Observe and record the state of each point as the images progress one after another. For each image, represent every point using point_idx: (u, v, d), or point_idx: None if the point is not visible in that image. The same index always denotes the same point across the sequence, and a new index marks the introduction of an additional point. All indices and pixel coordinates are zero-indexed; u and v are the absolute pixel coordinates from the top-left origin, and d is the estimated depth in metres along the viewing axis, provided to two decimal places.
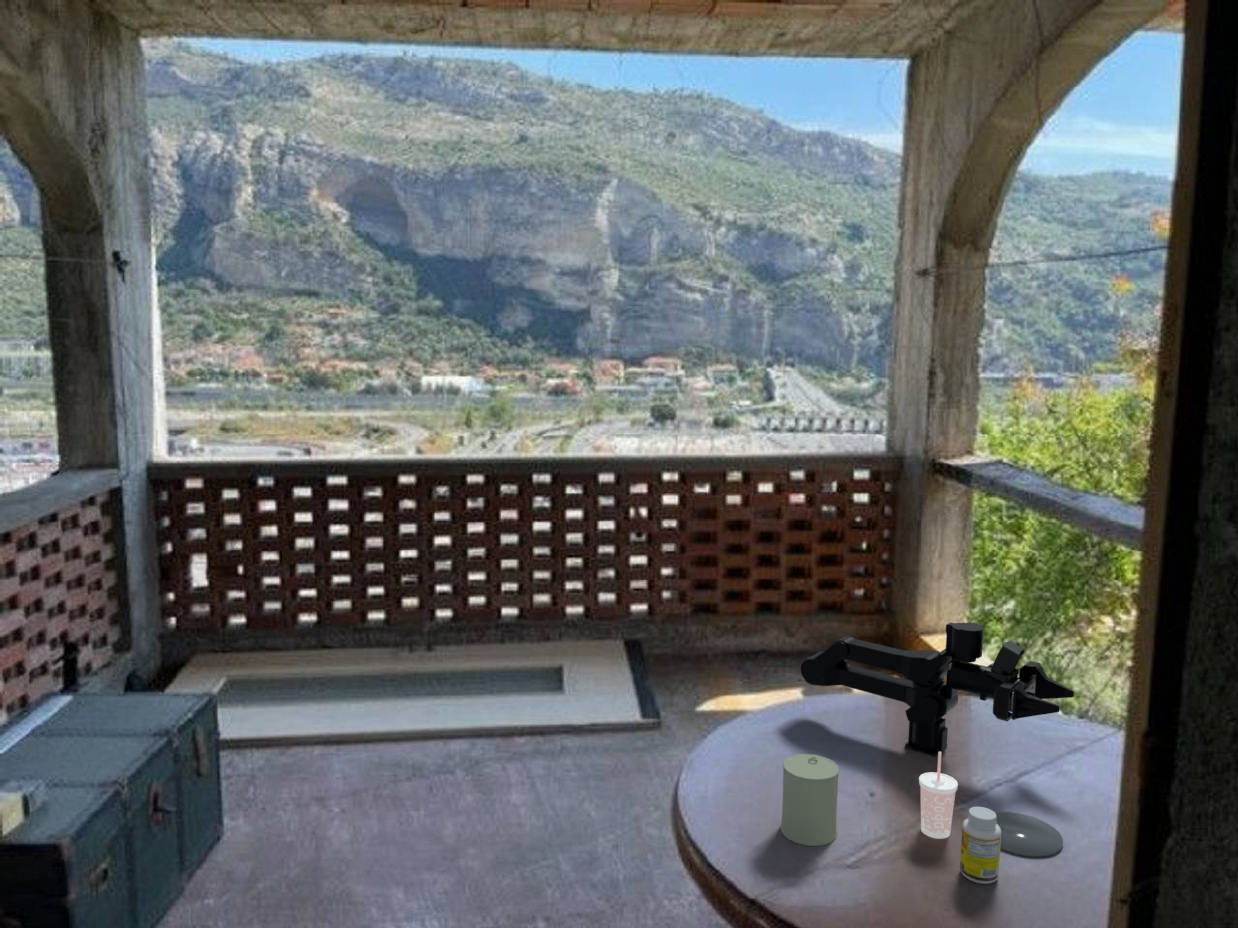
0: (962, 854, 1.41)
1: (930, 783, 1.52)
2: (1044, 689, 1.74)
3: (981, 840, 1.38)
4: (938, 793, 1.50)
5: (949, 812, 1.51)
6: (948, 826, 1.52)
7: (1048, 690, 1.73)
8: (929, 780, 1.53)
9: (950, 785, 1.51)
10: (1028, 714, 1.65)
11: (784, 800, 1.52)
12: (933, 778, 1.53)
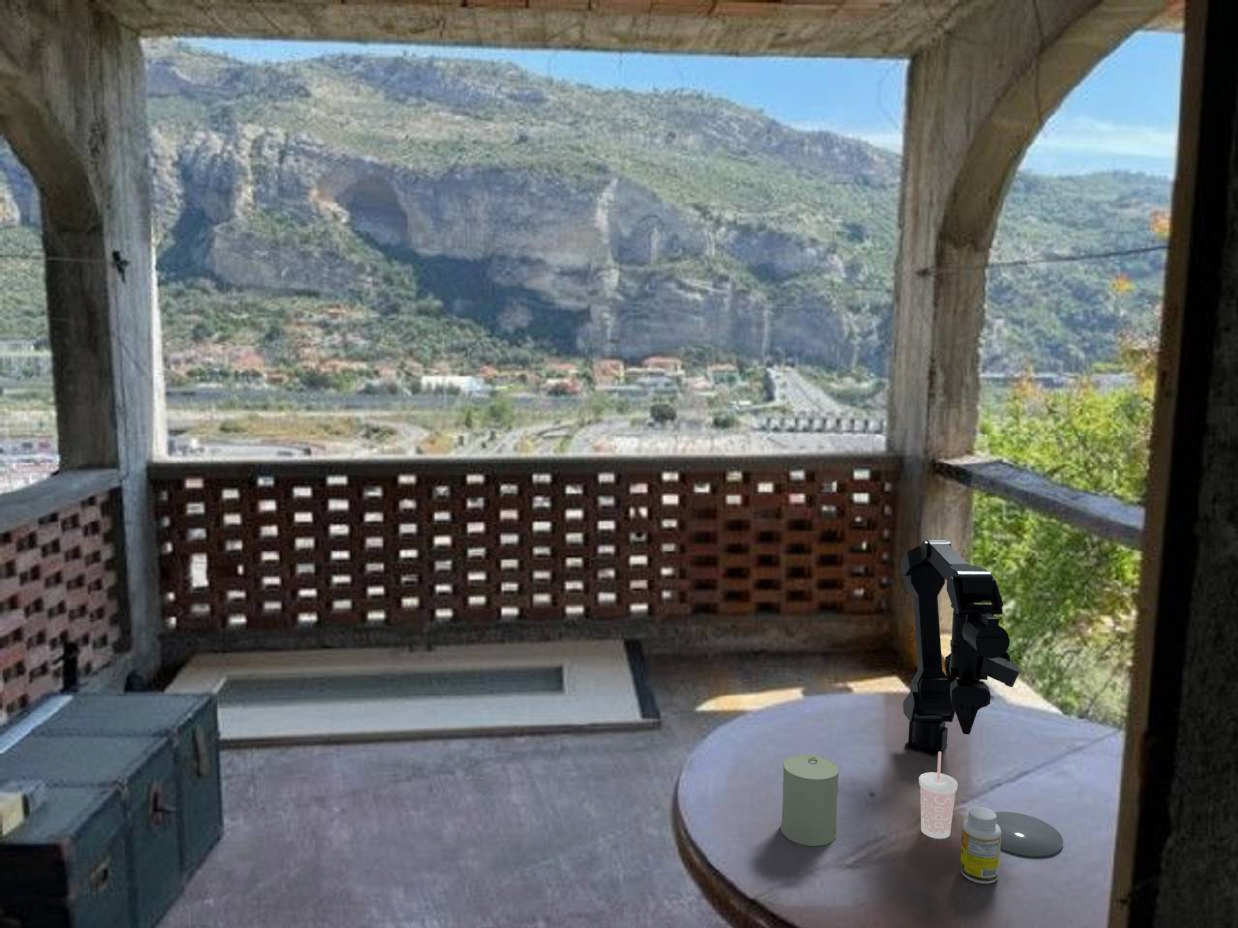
0: (962, 854, 1.41)
1: (930, 783, 1.52)
2: None
3: (981, 840, 1.38)
4: (938, 793, 1.50)
5: (949, 812, 1.51)
6: (948, 826, 1.52)
7: None
8: (929, 780, 1.53)
9: (950, 785, 1.51)
10: (957, 710, 1.59)
11: (784, 800, 1.52)
12: (933, 778, 1.53)
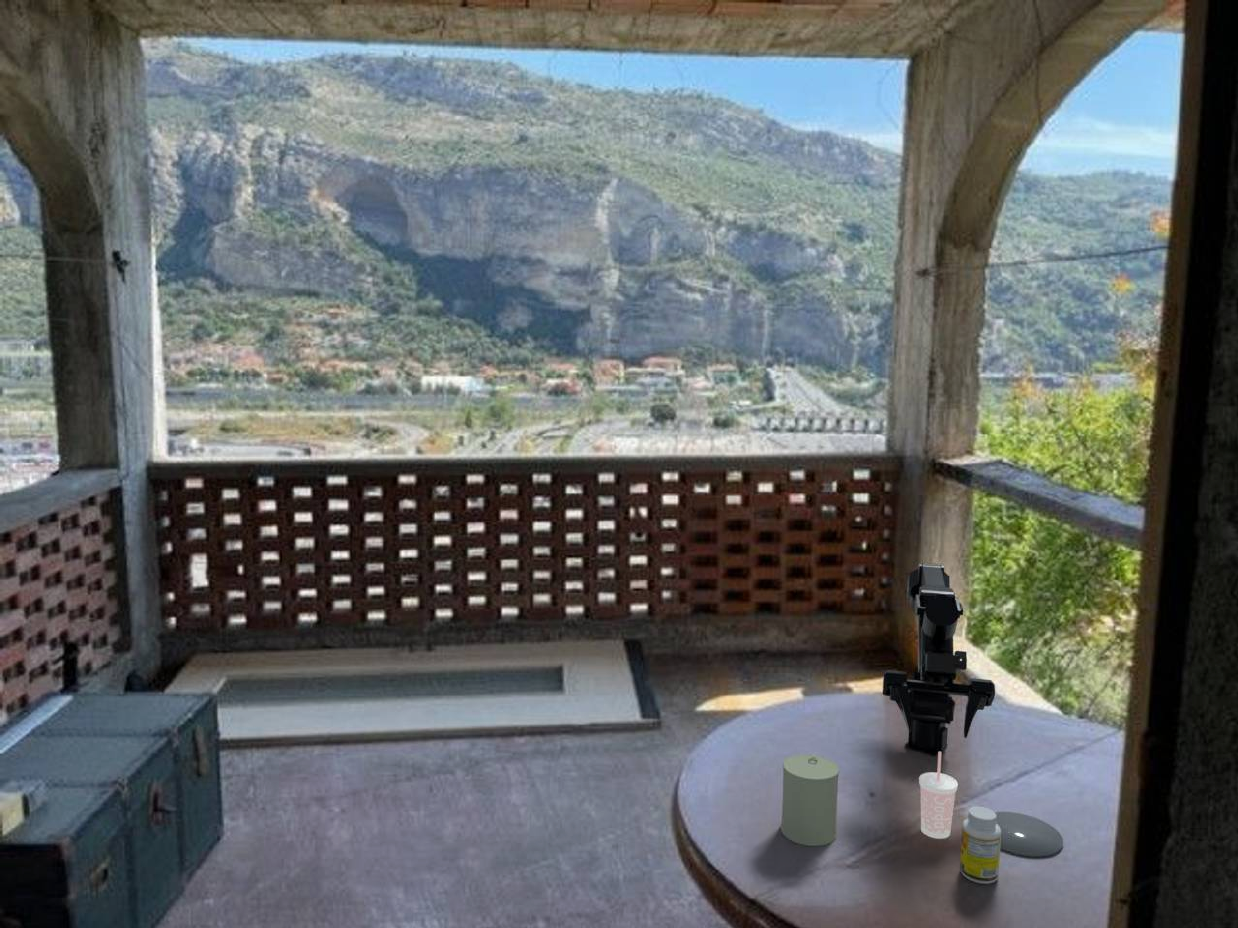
0: (962, 854, 1.41)
1: (930, 783, 1.52)
2: (966, 709, 1.62)
3: (981, 840, 1.38)
4: (938, 793, 1.50)
5: (949, 812, 1.51)
6: (948, 826, 1.52)
7: (966, 713, 1.62)
8: (929, 780, 1.53)
9: (950, 785, 1.51)
10: (900, 708, 1.66)
11: (784, 800, 1.52)
12: (933, 778, 1.53)
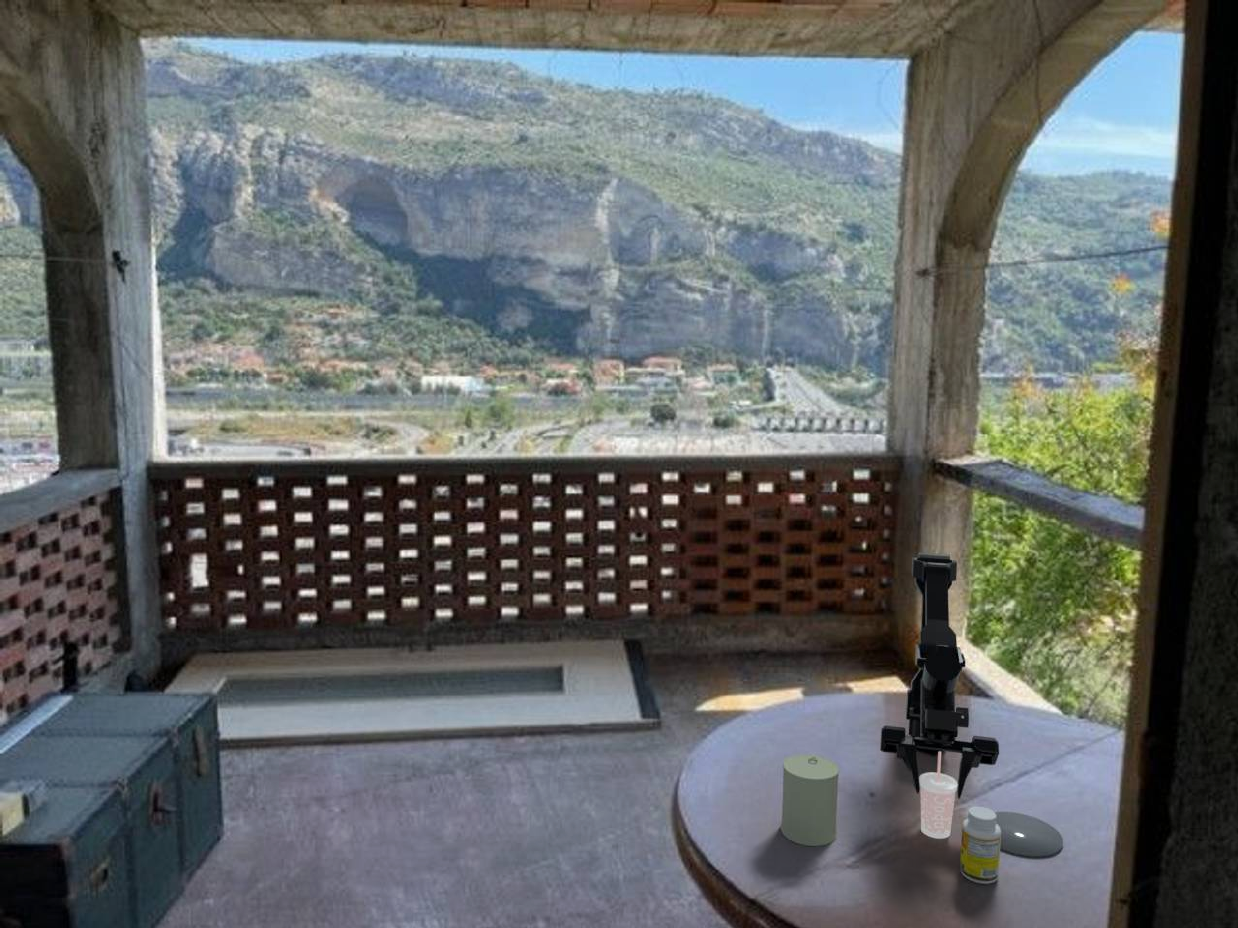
0: (962, 854, 1.41)
1: (930, 783, 1.52)
2: None
3: (981, 840, 1.38)
4: (938, 793, 1.50)
5: (949, 812, 1.51)
6: (948, 826, 1.52)
7: (959, 772, 1.54)
8: (929, 780, 1.53)
9: (950, 785, 1.51)
10: (907, 767, 1.57)
11: (784, 800, 1.52)
12: (933, 778, 1.53)
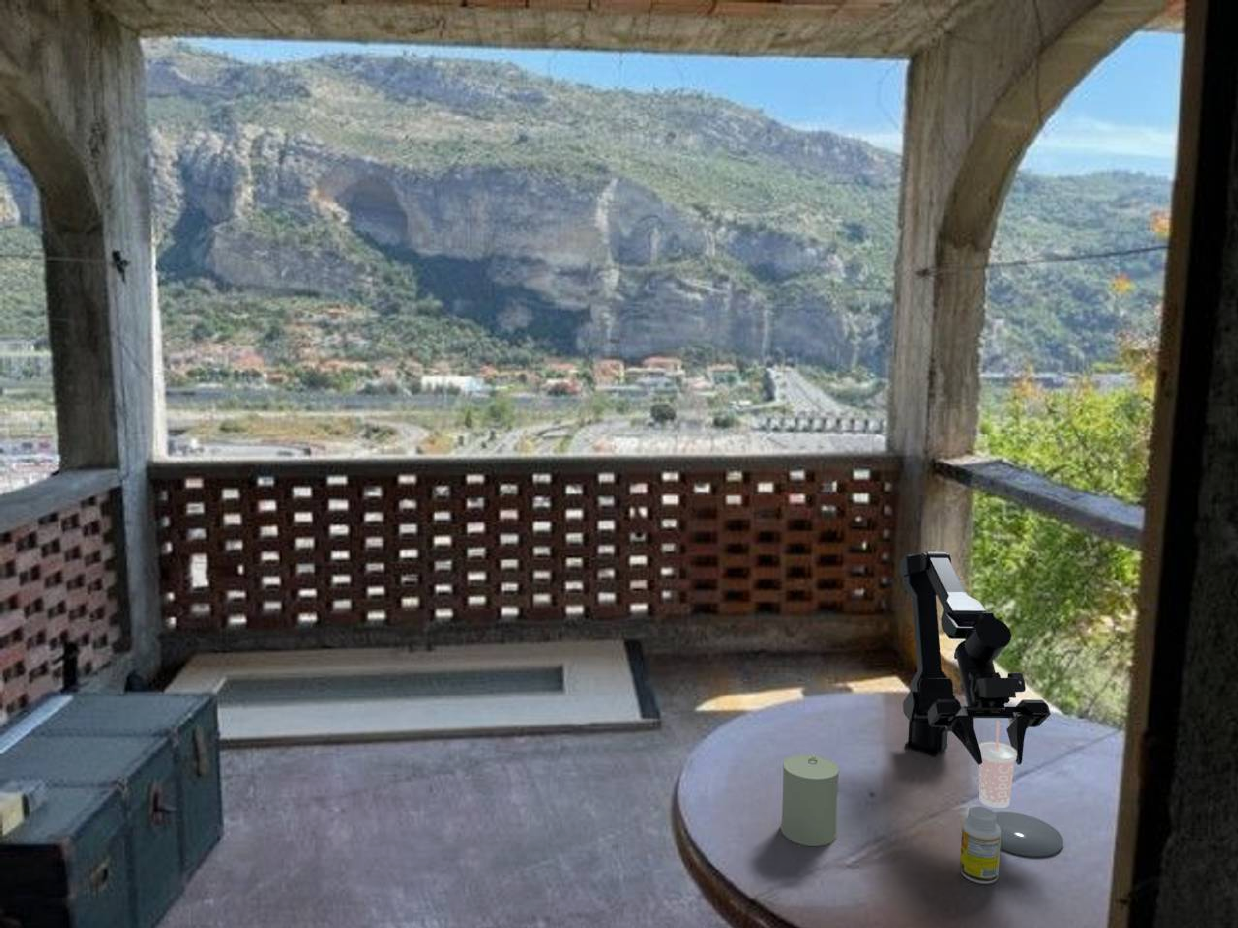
0: (962, 854, 1.41)
1: (991, 753, 1.49)
2: (1012, 733, 1.53)
3: (981, 840, 1.38)
4: (1002, 762, 1.48)
5: (1011, 779, 1.49)
6: (1009, 794, 1.50)
7: (1012, 737, 1.53)
8: (988, 750, 1.50)
9: (1010, 752, 1.50)
10: (960, 739, 1.54)
11: (784, 800, 1.52)
12: (991, 748, 1.51)
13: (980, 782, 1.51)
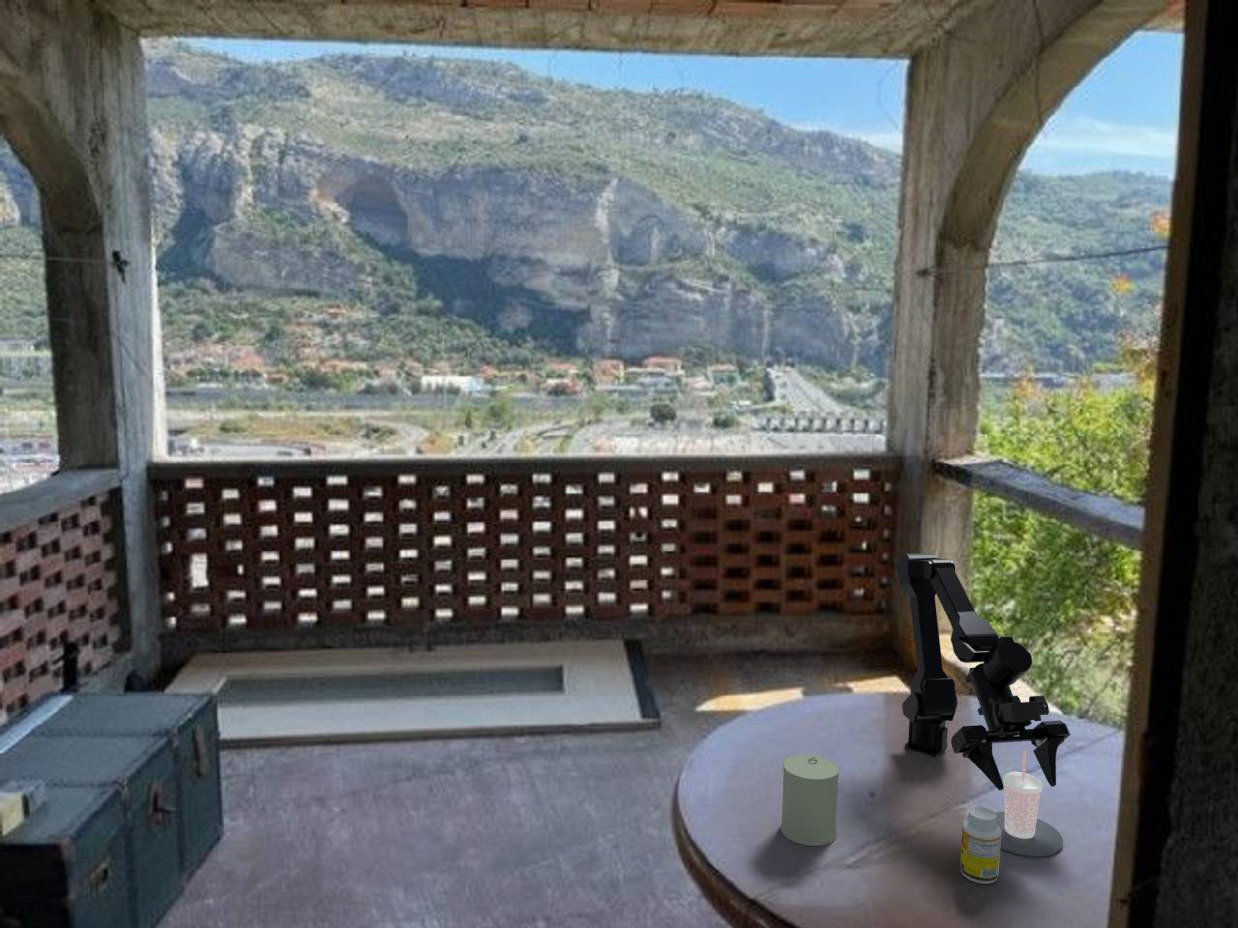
0: (962, 854, 1.41)
1: (1019, 784, 1.50)
2: (1042, 755, 1.54)
3: (981, 840, 1.38)
4: (1031, 793, 1.49)
5: (1037, 809, 1.51)
6: (1035, 824, 1.51)
7: (1043, 759, 1.54)
8: (1015, 781, 1.51)
9: (1037, 782, 1.51)
10: (978, 765, 1.53)
11: (784, 800, 1.52)
12: (1018, 778, 1.52)
13: (1007, 813, 1.52)
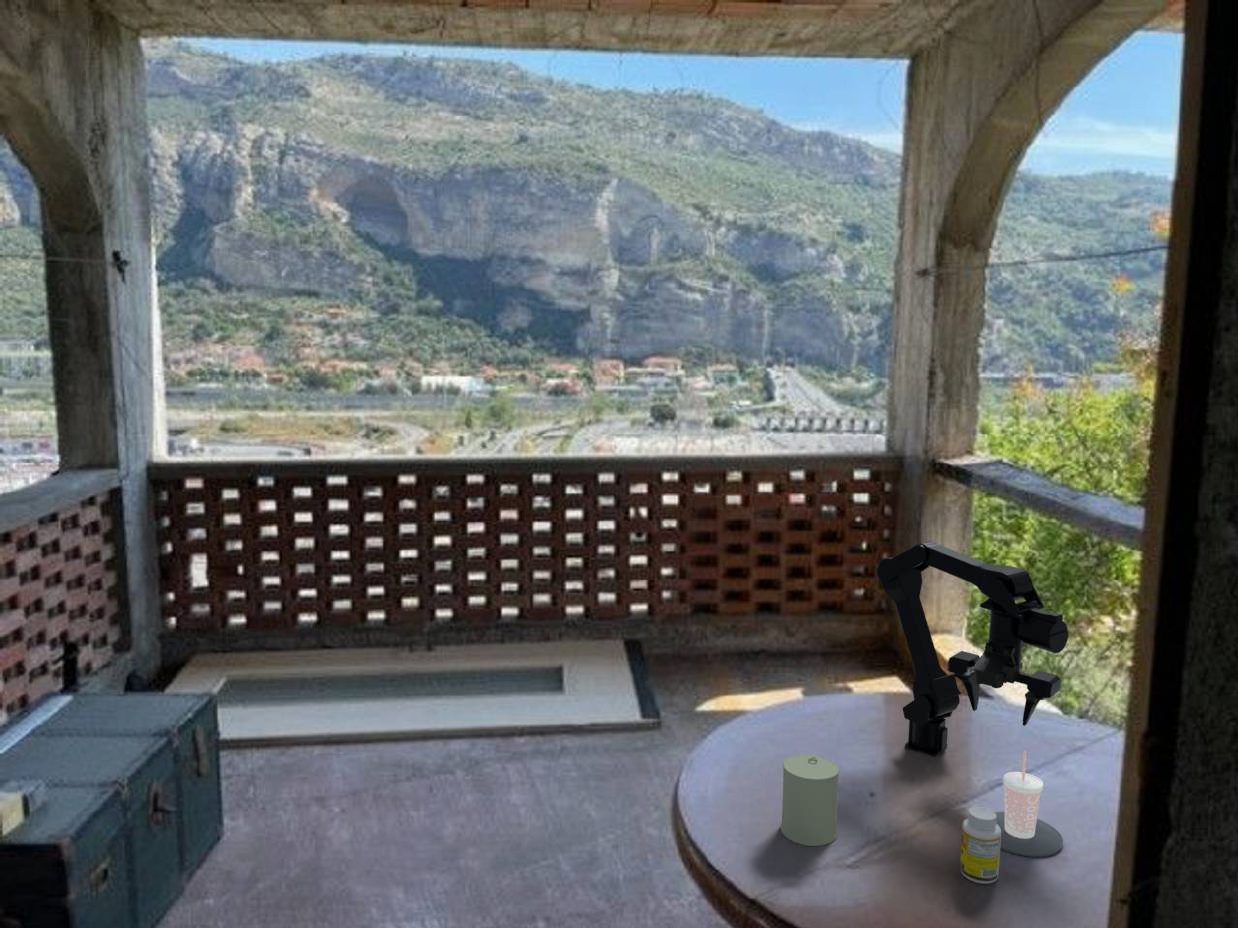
0: (962, 854, 1.41)
1: (1019, 784, 1.50)
2: None
3: (981, 840, 1.38)
4: (1031, 793, 1.49)
5: (1037, 809, 1.51)
6: (1035, 824, 1.51)
7: None
8: (1015, 781, 1.51)
9: (1036, 782, 1.51)
10: None
11: (784, 800, 1.52)
12: (1018, 778, 1.52)
13: (1007, 813, 1.52)
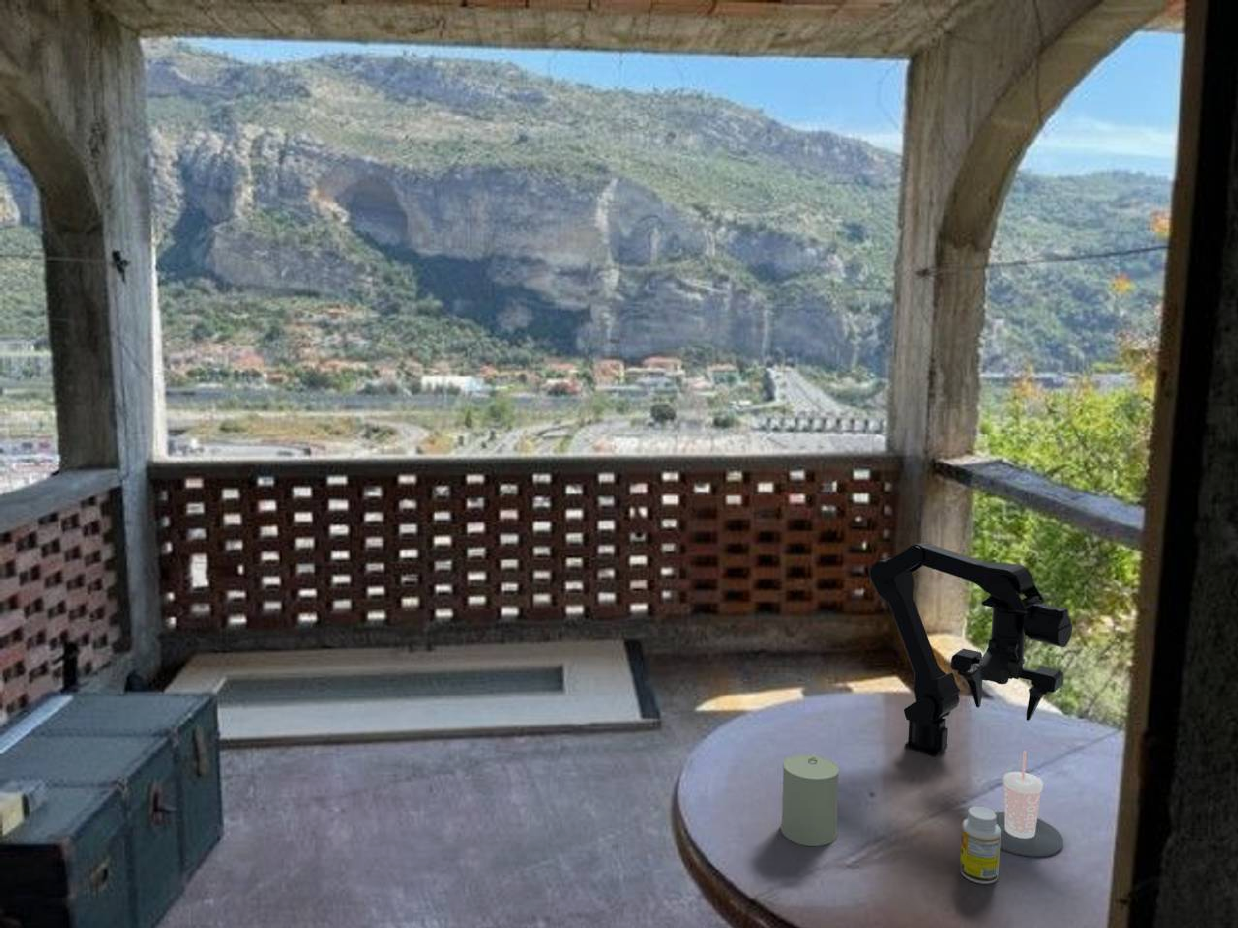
0: (962, 854, 1.41)
1: (1019, 784, 1.50)
2: None
3: (981, 840, 1.38)
4: (1031, 793, 1.49)
5: (1037, 809, 1.51)
6: (1035, 824, 1.51)
7: None
8: (1015, 781, 1.51)
9: (1036, 782, 1.51)
10: None
11: (784, 800, 1.52)
12: (1018, 778, 1.52)
13: (1007, 813, 1.52)
